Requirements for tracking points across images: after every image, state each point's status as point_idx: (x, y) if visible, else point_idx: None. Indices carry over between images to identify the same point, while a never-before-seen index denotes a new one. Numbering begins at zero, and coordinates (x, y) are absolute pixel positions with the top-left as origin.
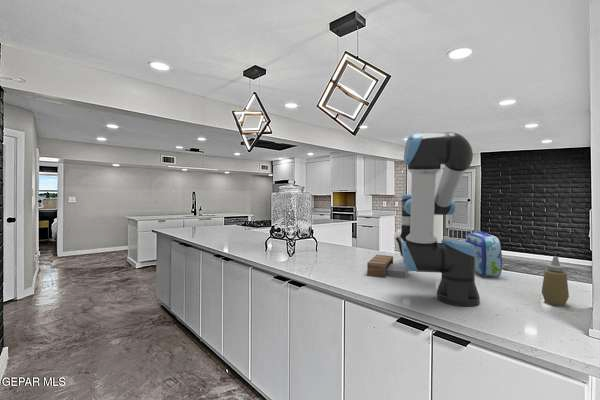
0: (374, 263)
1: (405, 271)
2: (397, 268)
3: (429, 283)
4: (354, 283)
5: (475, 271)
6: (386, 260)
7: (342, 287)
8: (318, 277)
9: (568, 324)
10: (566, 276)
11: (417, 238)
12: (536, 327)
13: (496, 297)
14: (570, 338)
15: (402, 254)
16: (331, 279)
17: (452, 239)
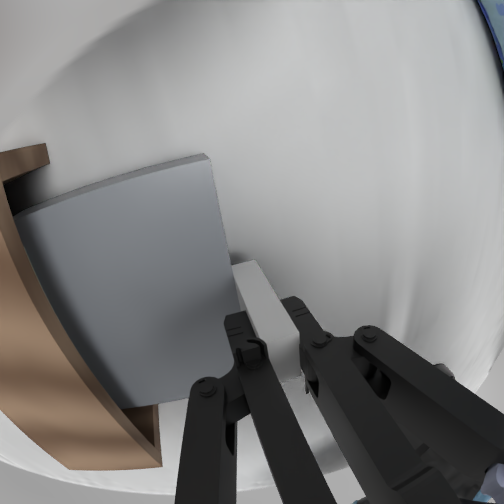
0: (102, 469)
1: None
2: (172, 347)
3: None
4: (129, 473)
5: (500, 52)
6: (85, 406)
7: (137, 491)
8: (25, 463)
9: (495, 356)
10: None
11: None
12: None
13: (483, 320)
14: (472, 391)
15: (226, 430)
16: (57, 468)
17: (489, 498)
